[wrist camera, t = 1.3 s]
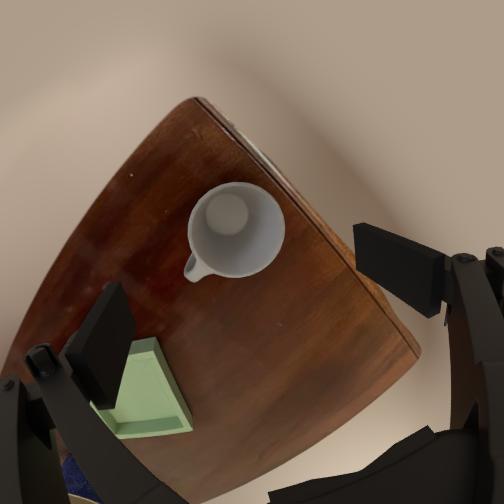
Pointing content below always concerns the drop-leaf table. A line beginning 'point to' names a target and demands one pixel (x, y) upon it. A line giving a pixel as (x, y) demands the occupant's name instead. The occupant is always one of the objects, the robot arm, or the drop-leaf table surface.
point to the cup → (234, 232)
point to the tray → (147, 397)
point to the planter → (78, 484)
